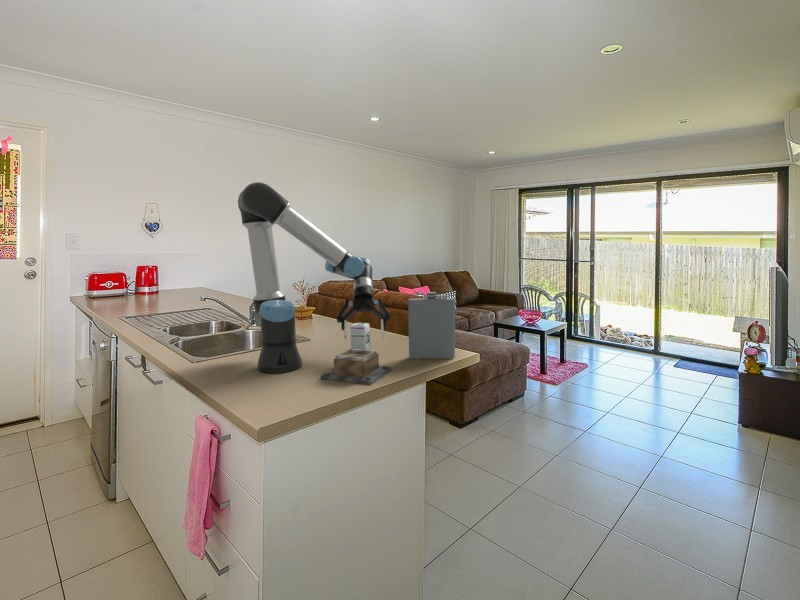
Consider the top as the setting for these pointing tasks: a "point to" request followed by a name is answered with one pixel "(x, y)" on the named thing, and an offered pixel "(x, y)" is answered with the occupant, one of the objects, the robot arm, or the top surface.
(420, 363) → the top surface
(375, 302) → the robot arm
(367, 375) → the assembly base
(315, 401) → the top surface
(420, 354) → the tall gray carton
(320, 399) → the top surface
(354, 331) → the syrup box
